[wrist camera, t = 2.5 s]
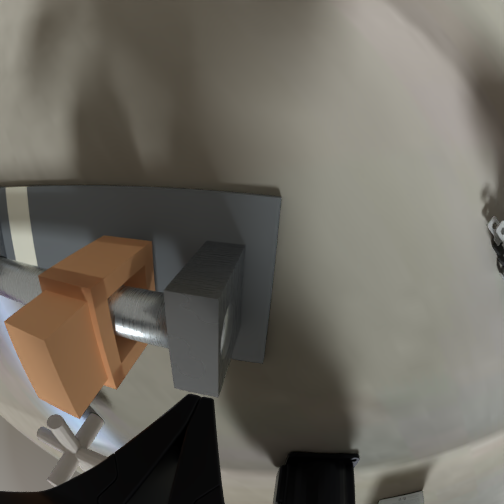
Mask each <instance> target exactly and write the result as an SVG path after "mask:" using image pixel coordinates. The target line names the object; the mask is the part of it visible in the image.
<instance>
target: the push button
mask: <svg viewBox="0 0 504 504" xmlns="http://www.w3.org/2000/svg"><path fill="white" fill-rule="evenodd" d="M493 223H496V224H497V226H496V228H495V229H493V228H492V226H493ZM487 227H488V228H489V230H490V231H491V233H492V234H493V235H494V237H495V238H494V239H493V240H494V241H495V242H496V243H495V244H494V246H493V249H494V250H495V252H496V253H497V255H498V256H499V257H498V260H499V261H500V263H501V264H502V265H503V266H504V220H502V221H501V222H499V221H498V219H497V218H496V216H493V217H492V218H491V220H490V221H489V222H488V224H487ZM499 274H500V275H501V277H502V278H503V280H504V275H503V274H502V273H501V272H499Z"/></svg>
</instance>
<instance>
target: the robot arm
mask: <svg viewBox="0 0 504 504" xmlns="http://www.w3.org/2000/svg"><path fill="white" fill-rule="evenodd" d="M359 460H360V458H359V455H358V454H312V453H297V452H292V453H289V454H288V457H287V460H286V462H285V465H282V466H280V468H279V471H278V473H277V476H276V484H275V491H274V498H273V504H355V485H354V467H355V465H356V464H357V463H358V461H359ZM0 504H225V503H224V497H223V489H222V481H221V472H220V463H219V453H218V442H217V431H216V420H215V407H214V400H213V399H212V398H207V397H200V396H198V395H193V394H188V395H186V396H185V397H184V398H183V399H182V400H180V401H179V402H178V403H177V404H176V405H174V406H173V407H172V408H171V409H169V410H168V411H167V412H166V413H165V414H163V415H162V416H161V417H160V418H158V419H157V420H156V421H155V422H153V423H152V424H151V425H150V426H148V427H147V428H146V429H145V430H143V431H142V432H141V433H139V434H138V435H137V436H136V437H134V438H133V439H132V440H130V441H129V442H128V443H127V444H125V445H124V446H123V447H121V448H120V449H119V450H117V451H116V452H115V454H112V455H110V456H109V457H108V458H106V459H105V460H103V461H102V462H100V463H99V464H97V465H96V466H94V467H93V468H91V469H89V470H88V471H86V472H84V473H82V474H80V475H78V476H76V477H74V478H72V479H70V480H68V481H66V482H64V483H62V484H60V485H58V486H56V487H54V488H52V489H48V490H45V491H39V492H5V491H0Z"/></svg>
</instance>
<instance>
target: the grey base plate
mask: <svg viewBox="0 0 504 504" xmlns="http://www.w3.org/2000/svg"><path fill="white" fill-rule="evenodd" d="M280 207H281V197H280V196H270V195H260V194H250V193H238V192H226V191H213V190H199V189H183V188H165V187H142V186H106V185H43V186H10V187H0V220H1V227H2V233H3V239H4V244H5V250H6V254H7V259H11V260H15V261H18V262H22V263H26V264H30V265H34V266H38V267H42V268H47V269H49V268H51V267H52V266H54V265H55V264H57V263H58V262H60V261H62V260H63V259H65V258H66V257H68V256H70V255H71V254H73V253H75V252H76V251H78V250H80V249H81V248H83V247H85V246H86V245H88V244H90V243H92V242H93V241H95V240H97V239H98V238H100V237H102V236H104V235H105V236H113V237H121V238H130V239H138V240H147V241H152V253H153V268H154V281H155V291H157V292H163V293H164V291H163V290H164V289H165V288H166V287H167V286H168V284H169V283H170V282H171V281H172V280H173V279H174V277H175V276H176V275H177V274H178V273H179V272H180V270H181V269H182V268H183V267H184V266H185V265H186V264H187V262H188V261H189V260H190V259H191V258H192V257H193V256H194V254H195V253H196V252H197V251H198V250H199V249H200V248H201V246H202V245H203V244H204V243H205V242H206V241H215V242H224V243H233V244H241V245H246V250H245V265H244V281H243V297H242V314H241V328H240V332H239V335H238V338H237V341H236V344H235V347H234V350H233V354H232V357H231V359H235V360H242V361H248V362H255V363H262V364H263V361H264V353H265V345H266V337H267V329H268V320H269V312H270V303H271V294H272V285H273V276H274V267H275V257H276V248H277V238H278V228H279V218H280Z"/></svg>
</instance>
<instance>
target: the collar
mask: <svg viewBox="0 0 504 504" xmlns="http://www.w3.org/2000/svg"><path fill="white" fill-rule="evenodd" d="M38 278H39V282H40V286H41V290H42V293H41V294H39V295H38V296H37V297H35V298H34V299H33V300H31V301H30V302H29V303H27V304H26V305H25V306H23V307H22V308H21V309H20V310H18V311H17V312H16V313H14V314H13V315H12V316H11V317H9V318H8V319H7V320H6V321H4V323H5V325H6V328H7V331H8V333H9V336H10V338H11V341H12V343H13V346H14V348H15V350H16V353H17V355H18V357H19V359H20V362H21V364H22V366H23V368H24V370H25V372H26V374H27V376H28V378H29V380H30V382H31V384H32V386H33V388H34V390H35V392H36V394H37V395H38V397H39V398H40V399H42V400H44V401H45V402H47V403H49V404H51V405H53V406H55V407H57V408H58V409H60V410H62V411H64V412H66V413H68V414H70V415H72V416H74V417H77V418H79V419H80V418H81V416H82V415H83V413H84V412H85V411H86V409H87V408H88V406H89V405H90V403H91V402H92V401H93V399H94V398H95V396H96V395H97V394H98V392H99V391H100V389H101V388H102V387H103V385H105V386H108V387H111V388H113V389H116V390H117V388H118V387H119V385H120V384H121V382H122V381H123V379H124V378H125V376H126V375H127V374H128V372H129V371H130V369H131V368H132V366H133V365H134V363H135V362H136V360H137V359H138V357H139V356H140V355H141V353H142V352H143V350H144V349H145V347H146V346H147V343H143V342H139V341H135V340H131V339H128V338H124V337H120V336H117V335H114V331H113V326H112V321H111V316H110V311H109V306H108V300H107V299H108V298H109V297H110V296H111V295H112V294H113V293H114V292H115V291H116V290H117V289H119V288H120V287H121V286H122V285H125V286H130V287H135V288H141V289H146V290H152V291H155V281H154V268H153V253H152V241H147V240H138V239H130V238H121V237H113V236H105V235H104V236H102V237H100V238H98V239H97V240H95V241H93V242H92V243H90V244H88V245H86V246H85V247H83V248H81V249H80V250H78V251H76V252H75V253H73V254H71V255H70V256H68V257H66V258H65V259H63V260H62V261H60V262H58V263H57V264H55V265H54V266H52V267H51V268H49V269H47V270H46V271H44V272H43V273H41V274H40V275H38Z"/></svg>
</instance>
